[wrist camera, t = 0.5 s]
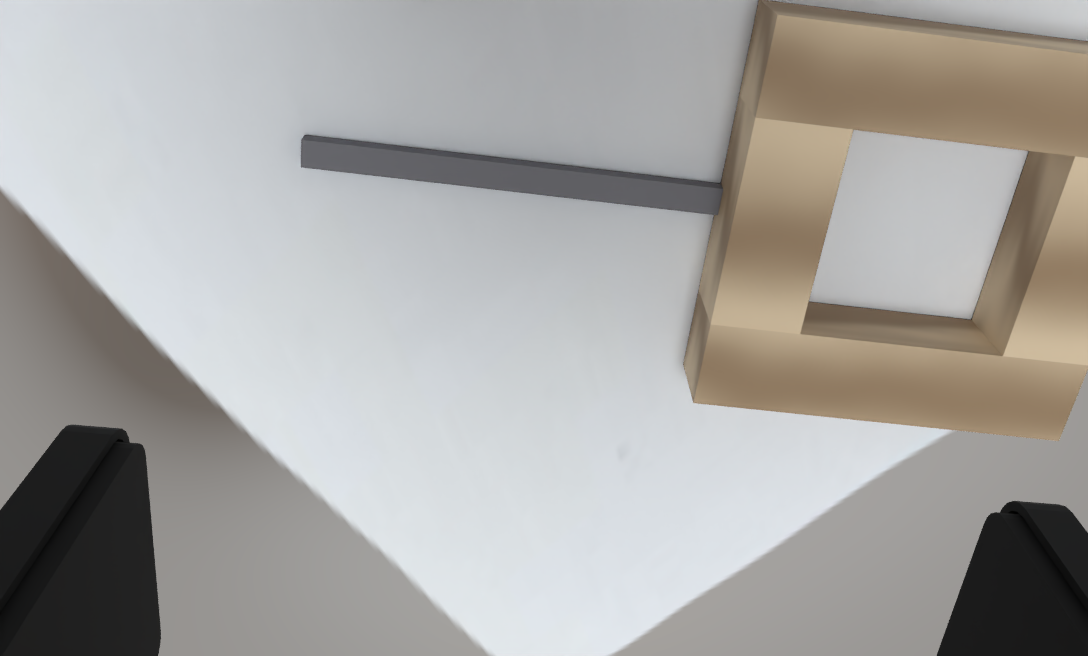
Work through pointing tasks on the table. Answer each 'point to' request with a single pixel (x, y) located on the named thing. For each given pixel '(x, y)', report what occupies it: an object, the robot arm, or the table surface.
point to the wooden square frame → (806, 206)
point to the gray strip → (510, 175)
